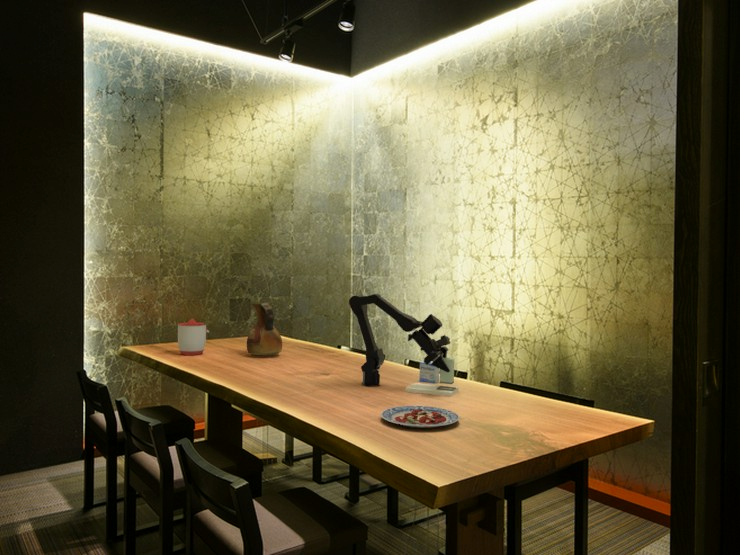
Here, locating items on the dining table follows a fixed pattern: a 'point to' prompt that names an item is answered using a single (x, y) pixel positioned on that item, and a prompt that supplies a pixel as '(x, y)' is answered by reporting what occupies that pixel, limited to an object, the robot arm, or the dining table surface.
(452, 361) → the grey green upright block
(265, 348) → the ceramic pitcher
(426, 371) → the medicine box
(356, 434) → the dining table surface
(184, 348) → the citrus juicer
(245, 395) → the dining table surface
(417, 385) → the ticket base
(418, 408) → the ceramic plate
